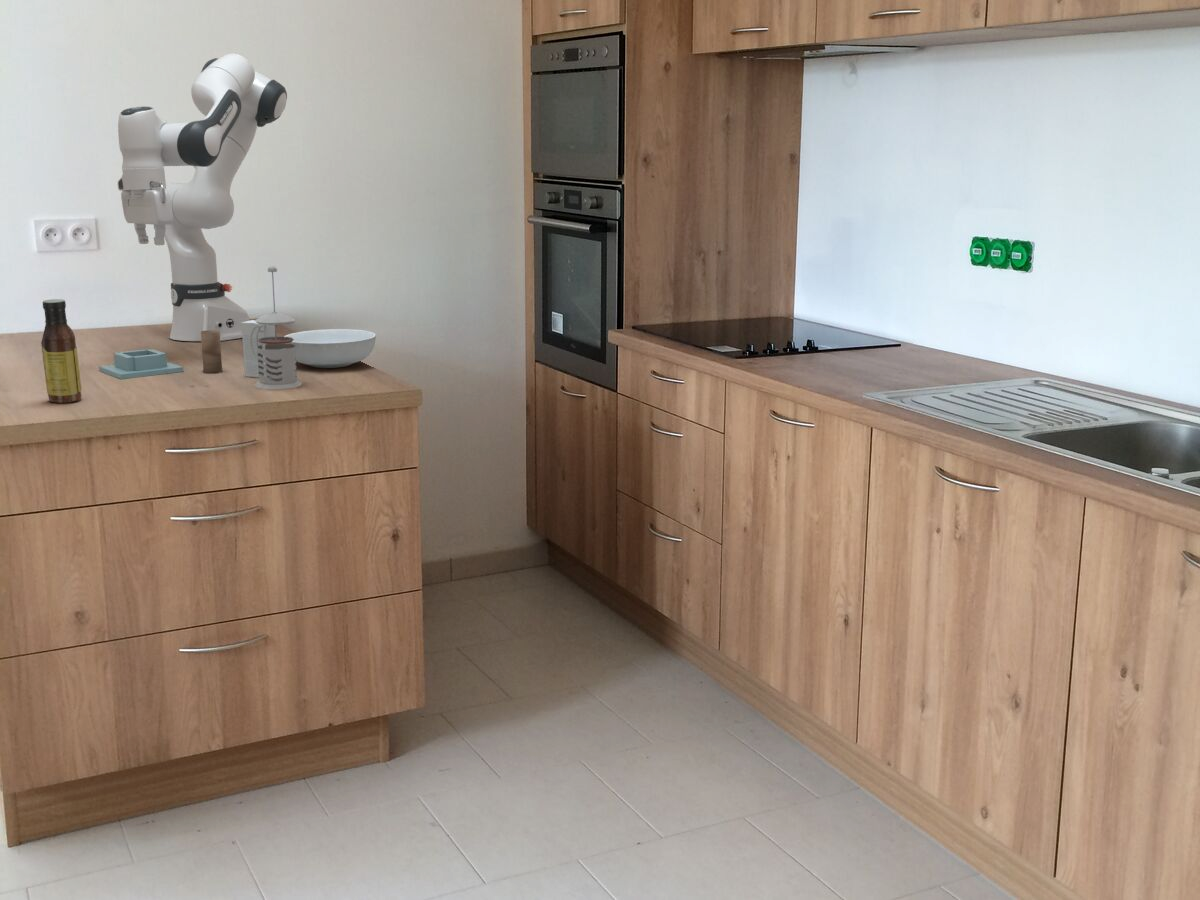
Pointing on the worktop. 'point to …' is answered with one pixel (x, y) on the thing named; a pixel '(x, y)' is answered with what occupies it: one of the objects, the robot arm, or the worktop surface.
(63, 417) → the worktop surface
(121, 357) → the holder
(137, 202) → the robot arm
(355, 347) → the serving bowl
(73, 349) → the sauce bottle
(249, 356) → the skincare box
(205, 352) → the brown cylinder
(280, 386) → the french press
